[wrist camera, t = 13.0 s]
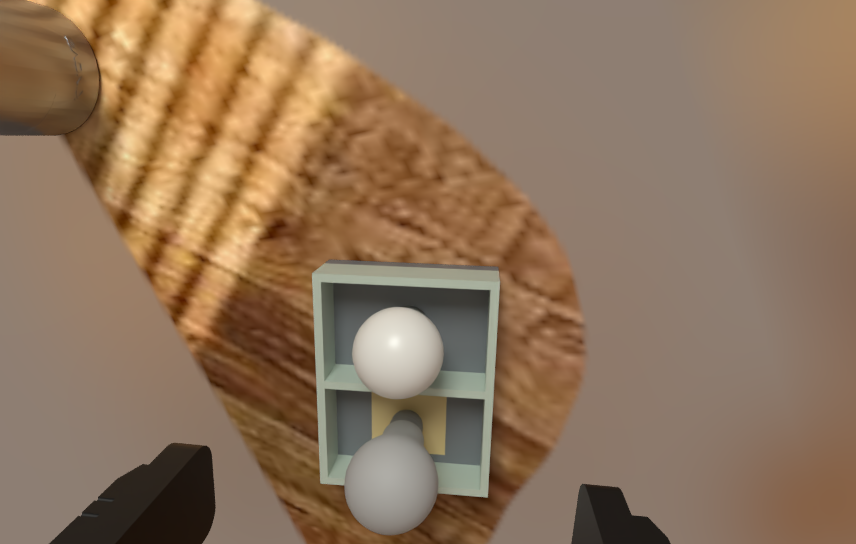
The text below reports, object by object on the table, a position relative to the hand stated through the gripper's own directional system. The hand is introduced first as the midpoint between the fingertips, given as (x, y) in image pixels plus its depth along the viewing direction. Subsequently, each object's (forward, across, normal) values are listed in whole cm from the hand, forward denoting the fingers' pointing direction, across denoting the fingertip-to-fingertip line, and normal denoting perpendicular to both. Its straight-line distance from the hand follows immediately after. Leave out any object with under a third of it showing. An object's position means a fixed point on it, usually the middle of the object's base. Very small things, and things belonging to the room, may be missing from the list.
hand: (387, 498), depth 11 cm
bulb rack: (+28, +3, +10) cm, 30 cm away
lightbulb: (+27, +3, +14) cm, 31 cm away
